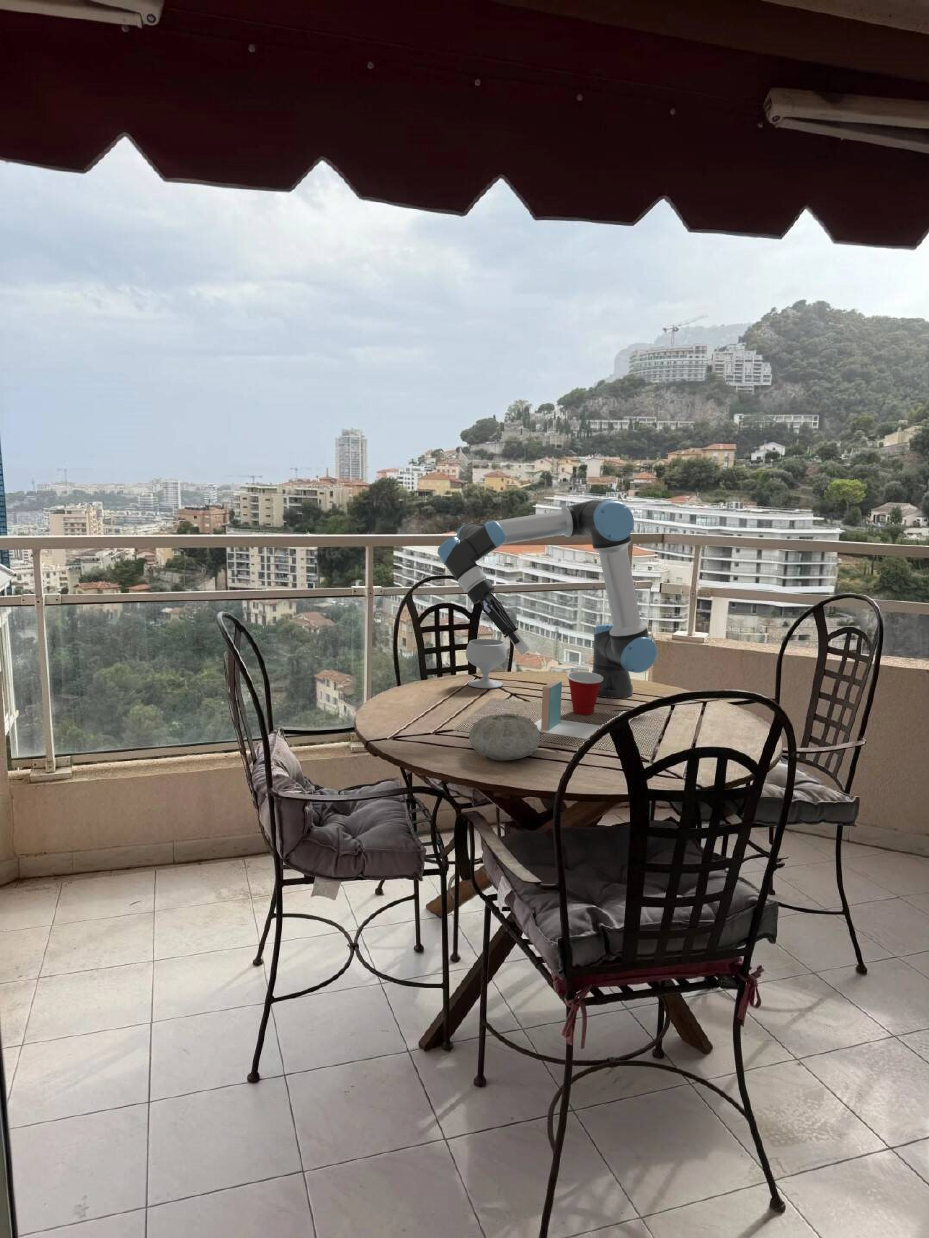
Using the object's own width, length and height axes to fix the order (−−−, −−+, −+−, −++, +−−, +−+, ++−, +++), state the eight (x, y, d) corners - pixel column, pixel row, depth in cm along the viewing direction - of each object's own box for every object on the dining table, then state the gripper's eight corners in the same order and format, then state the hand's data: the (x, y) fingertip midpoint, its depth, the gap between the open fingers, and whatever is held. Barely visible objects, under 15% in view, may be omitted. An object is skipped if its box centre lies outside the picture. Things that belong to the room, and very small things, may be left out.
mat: (524, 731, 226) (525, 729, 225) (542, 719, 238) (542, 717, 238) (594, 742, 217) (594, 740, 217) (609, 728, 229) (609, 726, 229)
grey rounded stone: (455, 757, 203) (455, 718, 201) (492, 739, 218) (493, 703, 216) (517, 771, 193) (518, 730, 192) (552, 752, 208) (553, 714, 206)
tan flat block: (541, 728, 226) (542, 686, 224) (552, 721, 234) (553, 680, 232) (549, 730, 225) (550, 687, 223) (560, 722, 233) (561, 681, 231)
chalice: (506, 690, 271) (507, 646, 269) (464, 689, 272) (465, 645, 269) (505, 680, 285) (506, 638, 283) (465, 679, 286) (466, 637, 283)
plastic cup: (576, 720, 237) (578, 680, 235) (558, 711, 247) (560, 672, 245) (608, 717, 241) (610, 678, 239) (590, 708, 251) (591, 670, 249)
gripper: (473, 593, 241) (520, 657, 237) (459, 594, 228) (509, 662, 225) (492, 577, 239) (541, 642, 235) (479, 578, 226) (530, 646, 223)
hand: (525, 652), depth 230 cm, fingers closed
